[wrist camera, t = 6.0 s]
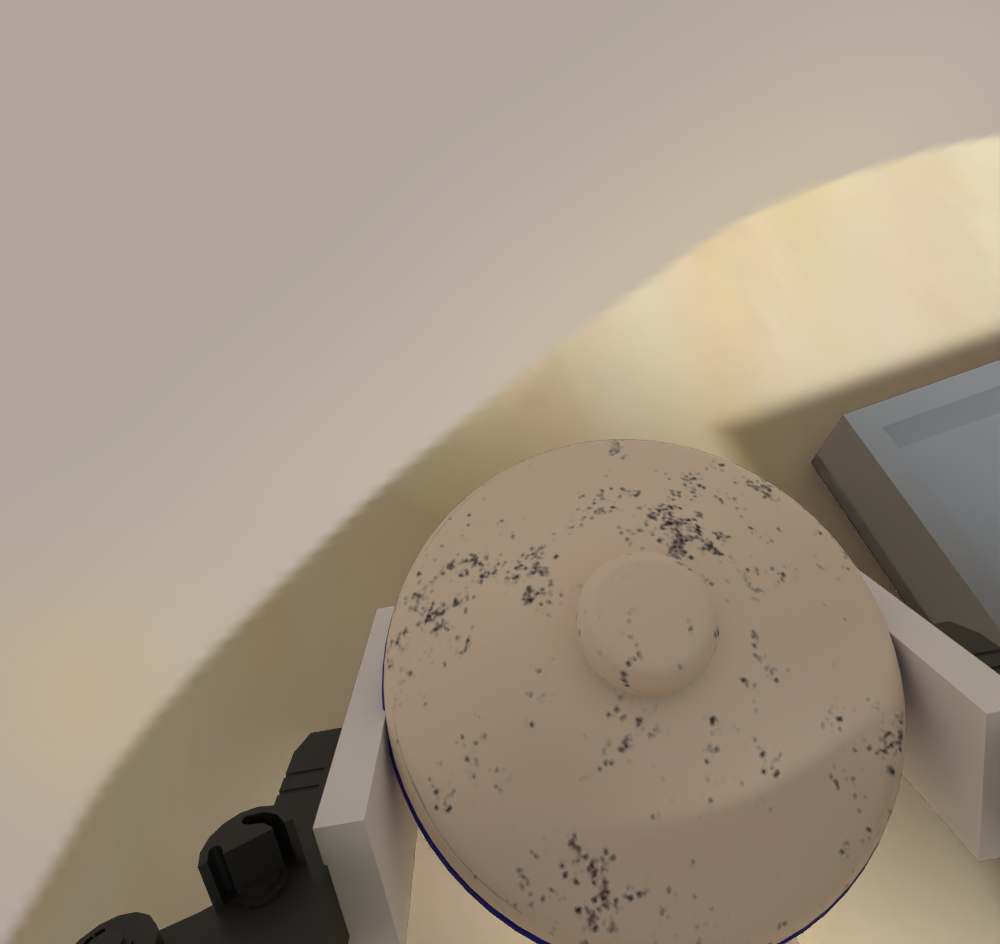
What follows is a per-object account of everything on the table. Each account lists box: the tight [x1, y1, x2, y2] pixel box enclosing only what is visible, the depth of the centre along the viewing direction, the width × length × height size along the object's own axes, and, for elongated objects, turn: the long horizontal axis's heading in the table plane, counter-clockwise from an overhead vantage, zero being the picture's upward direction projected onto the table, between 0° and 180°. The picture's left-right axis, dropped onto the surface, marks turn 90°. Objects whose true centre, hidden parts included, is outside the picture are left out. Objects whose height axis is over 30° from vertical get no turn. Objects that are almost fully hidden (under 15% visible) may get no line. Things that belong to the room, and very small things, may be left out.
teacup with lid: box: [382, 439, 906, 944], centre depth 13 cm, size 12×9×12 cm
